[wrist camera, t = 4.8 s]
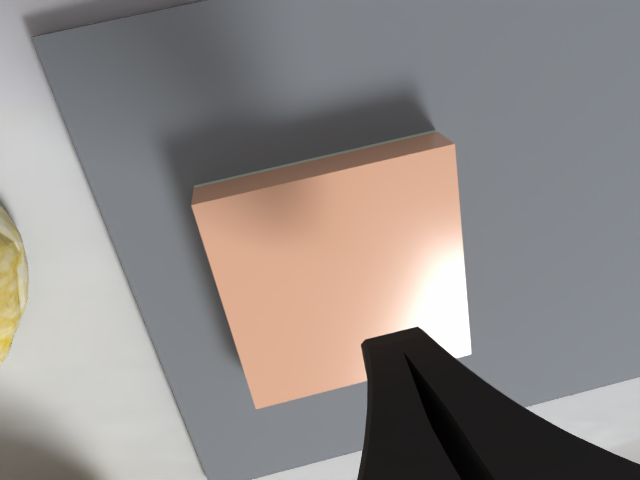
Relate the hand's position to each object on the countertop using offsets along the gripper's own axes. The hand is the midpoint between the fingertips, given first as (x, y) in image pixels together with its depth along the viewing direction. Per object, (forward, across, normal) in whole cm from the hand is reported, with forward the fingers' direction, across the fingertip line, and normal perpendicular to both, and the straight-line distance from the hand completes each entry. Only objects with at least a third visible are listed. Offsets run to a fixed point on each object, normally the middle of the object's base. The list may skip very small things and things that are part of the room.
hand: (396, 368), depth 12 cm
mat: (+6, -2, 0) cm, 6 cm away
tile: (+5, -3, 0) cm, 6 cm away
